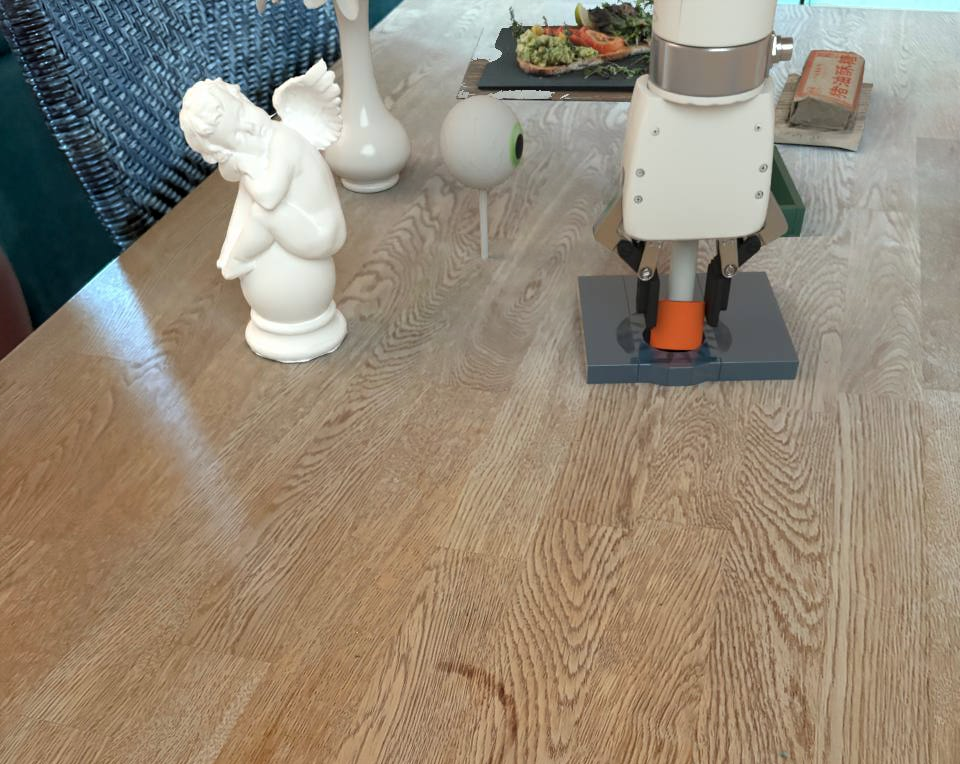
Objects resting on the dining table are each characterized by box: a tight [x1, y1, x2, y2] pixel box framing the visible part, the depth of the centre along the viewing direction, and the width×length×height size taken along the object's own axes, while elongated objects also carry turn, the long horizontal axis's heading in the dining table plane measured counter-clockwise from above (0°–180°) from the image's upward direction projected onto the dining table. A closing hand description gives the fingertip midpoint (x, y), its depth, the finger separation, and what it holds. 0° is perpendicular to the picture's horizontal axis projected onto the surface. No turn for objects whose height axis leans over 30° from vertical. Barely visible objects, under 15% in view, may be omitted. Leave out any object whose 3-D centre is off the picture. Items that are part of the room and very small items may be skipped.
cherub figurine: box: [178, 57, 349, 364], centre depth 80 cm, size 12×12×22 cm
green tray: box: [636, 144, 807, 242], centre depth 101 cm, size 16×15×3 cm
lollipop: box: [438, 95, 525, 260], centre depth 89 cm, size 7×7×15 cm
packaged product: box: [774, 49, 874, 152], centre depth 114 cm, size 18×5×10 cm
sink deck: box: [576, 270, 800, 387], centre depth 83 cm, size 16×15×3 cm
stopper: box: [649, 240, 706, 351], centre depth 79 cm, size 4×4×9 cm
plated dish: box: [455, 0, 654, 102], centre depth 129 cm, size 35×28×7 cm
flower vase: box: [254, 0, 413, 194], centre depth 99 cm, size 13×18×25 cm
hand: (679, 316), depth 79 cm, fingers closed on stopper, 4 cm apart
